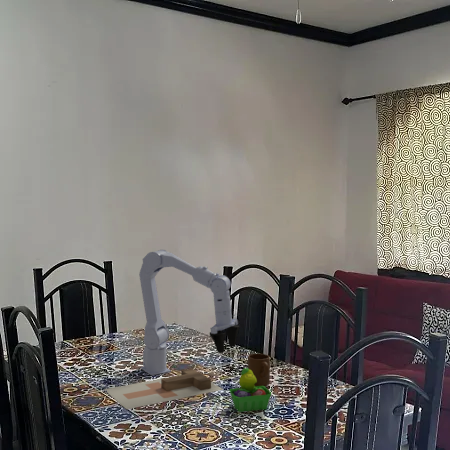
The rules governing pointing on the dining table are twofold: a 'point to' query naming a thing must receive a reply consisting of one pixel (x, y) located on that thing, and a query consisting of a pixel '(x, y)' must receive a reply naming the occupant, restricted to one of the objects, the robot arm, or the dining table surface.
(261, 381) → the mug
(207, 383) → the t block
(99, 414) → the dining table surface
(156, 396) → the mat
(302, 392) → the dining table surface
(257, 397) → the fruit basket
